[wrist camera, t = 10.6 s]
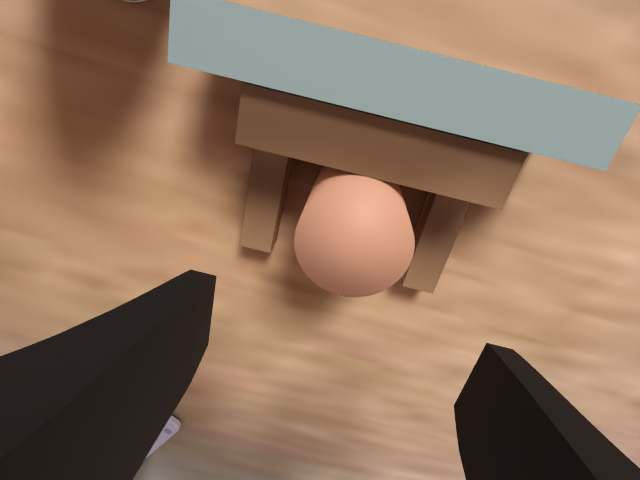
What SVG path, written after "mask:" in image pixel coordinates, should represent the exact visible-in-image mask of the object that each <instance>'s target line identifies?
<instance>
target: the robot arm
mask: <svg viewBox="0 0 640 480" xmlns="http://www.w3.org/2000/svg"><path fill="white" fill-rule="evenodd" d="M215 283H216V276H214V275H210V274H206V273H202V272H198V271H194V270H189V271H187V272H185V273H183V274H181V275H179V276H177V277H175V278H173V279H171V280H169V281H167V282H166V283H164V284H162V285H160V286H158V287H156V288H154V289H152V290H150V291H148V292H146V293H145V294H143V295H141V296H139V297H137V298H135V299H133V300H131V301H129V302H127V303H125V304H123V305H121V306H119V307H117V308H115V309H113V310H111V311H108V312H106V313H104V314H102V315H100V316H97V317H95V318H93V319H91V320H88V321H86V322H84V323H82V324H80V325H77V326H75V327H73V328H71V329H69V330H66V331H64V332H62V333H60V334H57V335H55V336H52V337H50V338H48V339H45V340H43V341H40V342H37V343H35V344H32V345H30V346H27V347H25V348H22V349H19V350H16V351H14V352H11V353H8V354H6V355H3V356H0V480H132V479H133V478H134V476H135V474H136V473H137V471H138V469H139V468H140V466H141V464H142V463H143V461H144V460H145V459H146V458H147V457H148V456H150V455H151V454H152V453H153V452H154V451H155V450H157V449H158V448H159V447H160V446H161V445H163V444H164V443H165V442H166V441H167V440H168V439H170V438H171V437H172V436H173V435H174V434H176V433H177V432H178V431H179V429H180V427H181V423H180V421H179V420H178V419H176V418H175V417H173V416H172V413H173V412H174V410H175V408H176V407H177V405H178V403H179V402H180V400H181V398H182V397H183V395H184V393H185V392H186V390H187V388H188V387H189V385H190V383H191V381H192V379H193V377H194V375H195V372H196V370H197V368H198V366H199V364H200V362H201V359H202V357H203V355H204V353H205V350H206V348H207V346H208V341H209V332H210V324H211V316H212V308H213V300H214V291H215ZM454 411H455V421H456V431H457V438H458V446H459V452H460V456H461V461H462V465H463V469H464V473H465V477H466V480H640V468H639V467H638V466H636V465H635V464H634V463H633V462H632V461H631V460H630V459H629V458H628V457H626V456H625V455H624V454H623V453H622V452H621V451H620V450H619V449H618V448H617V447H616V446H615V445H614V444H612V443H611V442H610V441H609V440H608V439H607V438H606V437H605V436H604V435H603V434H602V433H601V432H600V431H599V430H598V429H597V428H595V427H594V426H593V425H592V424H591V423H590V422H589V421H588V420H587V419H586V418H585V417H584V416H583V415H582V414H581V413H580V412H579V411H578V410H577V409H576V408H575V407H574V406H573V405H572V404H571V403H570V402H569V401H568V400H567V399H566V398H564V397H563V396H562V395H561V394H560V393H559V392H558V391H557V390H556V389H555V388H554V387H553V386H552V385H551V384H550V383H549V382H548V381H547V380H546V379H545V378H544V377H543V376H542V375H541V374H540V373H539V372H538V371H537V370H536V369H534V368H533V367H532V366H531V365H530V364H529V363H528V362H527V361H526V360H525V359H524V358H522V357H521V356H520V355H519V354H518V353H516V352H515V351H514V350H513V349H509V348H505V347H501V346H497V345H493V344H489V343H486V345H485V347H484V349H483V351H482V353H481V355H480V357H479V359H478V361H477V363H476V364H475V366H474V368H473V370H472V372H471V374H470V376H469V378H468V380H467V382H466V384H465V385H464V387H463V389H462V391H461V393H460V395H459V397H458V399H457V401H456V403H455V405H454Z"/></svg>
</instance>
